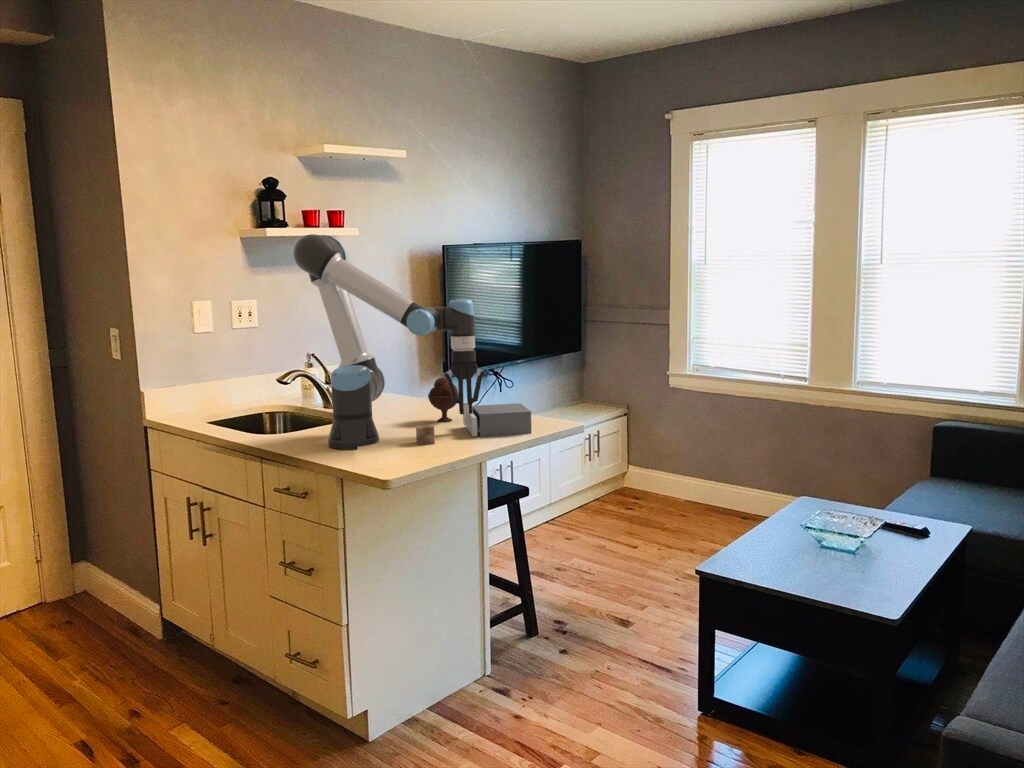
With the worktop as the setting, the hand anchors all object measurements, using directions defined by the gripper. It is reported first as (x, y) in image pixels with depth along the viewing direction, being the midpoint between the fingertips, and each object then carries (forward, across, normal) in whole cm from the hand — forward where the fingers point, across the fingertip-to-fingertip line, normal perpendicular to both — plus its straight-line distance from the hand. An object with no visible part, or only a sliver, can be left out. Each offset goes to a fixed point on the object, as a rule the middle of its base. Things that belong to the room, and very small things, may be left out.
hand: (466, 424), depth 260 cm
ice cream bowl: (+3, -5, +21) cm, 21 cm away
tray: (+3, +10, 0) cm, 11 cm away
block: (+3, -14, -12) cm, 19 cm away
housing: (+3, +11, 0) cm, 11 cm away
